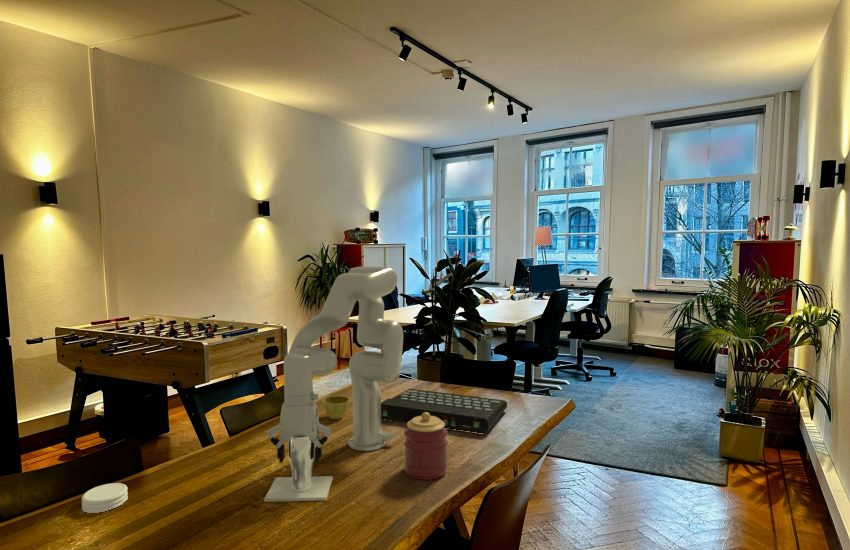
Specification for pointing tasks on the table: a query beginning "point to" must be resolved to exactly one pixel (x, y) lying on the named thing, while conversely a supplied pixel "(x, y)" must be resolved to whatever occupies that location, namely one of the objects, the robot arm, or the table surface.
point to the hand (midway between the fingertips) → (299, 460)
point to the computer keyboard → (445, 409)
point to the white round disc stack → (104, 498)
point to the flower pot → (336, 406)
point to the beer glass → (301, 463)
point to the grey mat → (285, 493)
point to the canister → (425, 447)
